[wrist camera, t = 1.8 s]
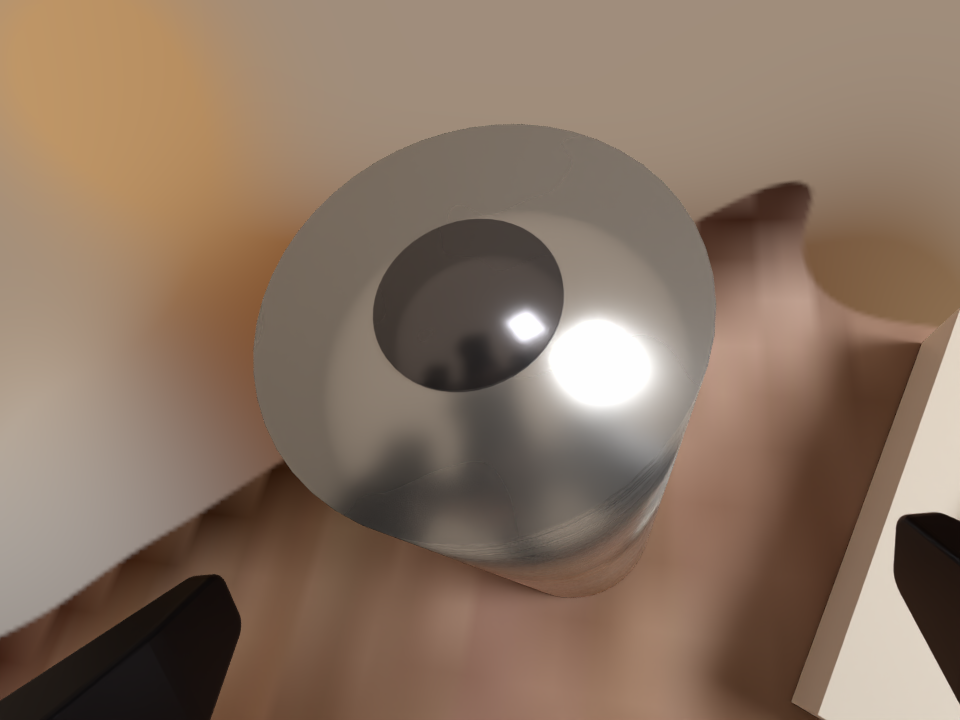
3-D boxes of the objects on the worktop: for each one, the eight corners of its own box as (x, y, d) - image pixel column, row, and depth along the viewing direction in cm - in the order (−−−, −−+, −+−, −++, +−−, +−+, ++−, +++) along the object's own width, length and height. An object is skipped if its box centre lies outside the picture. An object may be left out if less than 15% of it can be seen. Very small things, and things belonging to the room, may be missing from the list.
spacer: (605, 632, 16) (568, 664, 4) (462, 544, 18) (166, 400, 6) (676, 479, 17) (796, 186, 6) (536, 412, 19) (404, 85, 7)
